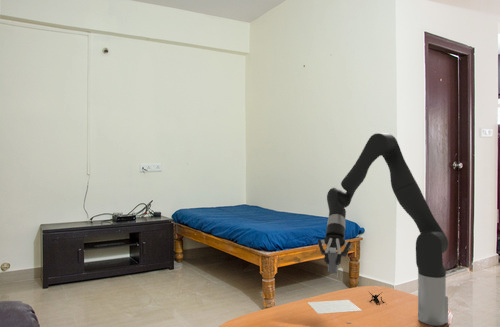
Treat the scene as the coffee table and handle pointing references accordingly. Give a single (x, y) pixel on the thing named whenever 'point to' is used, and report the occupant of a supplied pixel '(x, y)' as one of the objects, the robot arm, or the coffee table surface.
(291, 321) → the coffee table surface
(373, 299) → the creature
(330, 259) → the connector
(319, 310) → the dock plate
